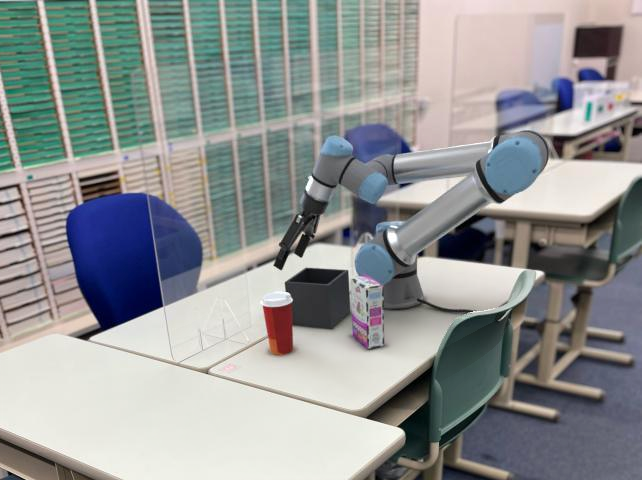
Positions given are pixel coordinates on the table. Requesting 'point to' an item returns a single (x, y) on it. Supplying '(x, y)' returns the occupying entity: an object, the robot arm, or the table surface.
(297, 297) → the trash bin
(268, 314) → the coffee cup
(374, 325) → the candy bar box
